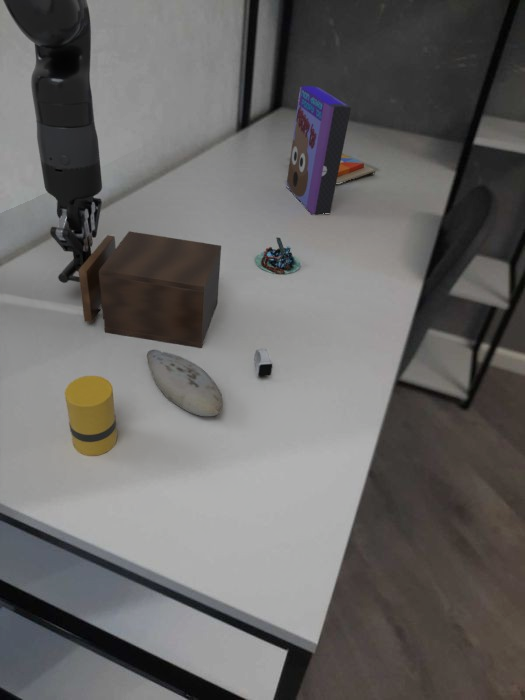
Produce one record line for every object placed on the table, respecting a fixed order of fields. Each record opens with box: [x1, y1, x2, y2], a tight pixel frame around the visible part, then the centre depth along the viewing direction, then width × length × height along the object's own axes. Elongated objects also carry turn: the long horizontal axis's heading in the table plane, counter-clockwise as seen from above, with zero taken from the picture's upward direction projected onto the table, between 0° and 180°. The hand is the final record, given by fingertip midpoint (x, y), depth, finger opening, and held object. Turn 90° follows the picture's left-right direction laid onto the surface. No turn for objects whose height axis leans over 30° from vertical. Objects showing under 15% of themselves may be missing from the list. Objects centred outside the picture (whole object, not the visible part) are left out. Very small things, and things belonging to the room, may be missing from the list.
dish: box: [254, 236, 301, 275], centre depth 102 cm, size 8×7×8 cm
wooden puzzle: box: [336, 153, 376, 183], centre depth 148 cm, size 17×19×4 cm
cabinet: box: [99, 230, 222, 349], centre depth 80 cm, size 15×13×11 cm
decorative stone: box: [146, 349, 224, 417], centre depth 69 cm, size 6×16×3 cm, turn 45°
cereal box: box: [286, 85, 352, 215], centre depth 122 cm, size 17×5×24 cm, turn 18°
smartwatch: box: [253, 348, 274, 377], centre depth 74 cm, size 4×2×4 cm, turn 13°
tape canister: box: [64, 375, 118, 457], centre depth 60 cm, size 5×5×8 cm
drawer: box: [57, 234, 117, 323], centre depth 80 cm, size 18×12×9 cm, turn 83°
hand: (84, 270), depth 80 cm, fingers closed
